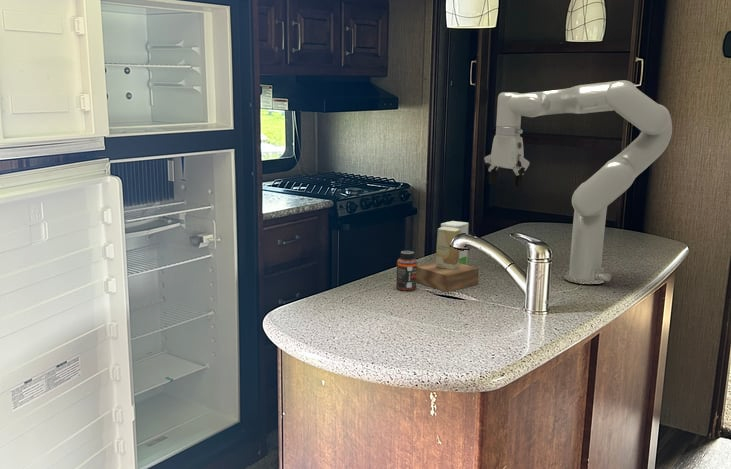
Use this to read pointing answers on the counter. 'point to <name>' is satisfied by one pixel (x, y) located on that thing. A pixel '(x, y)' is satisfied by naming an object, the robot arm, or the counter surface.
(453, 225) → the skincare box
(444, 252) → the skincare box
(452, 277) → the walnut block
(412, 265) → the supplement bottle
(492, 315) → the counter surface
